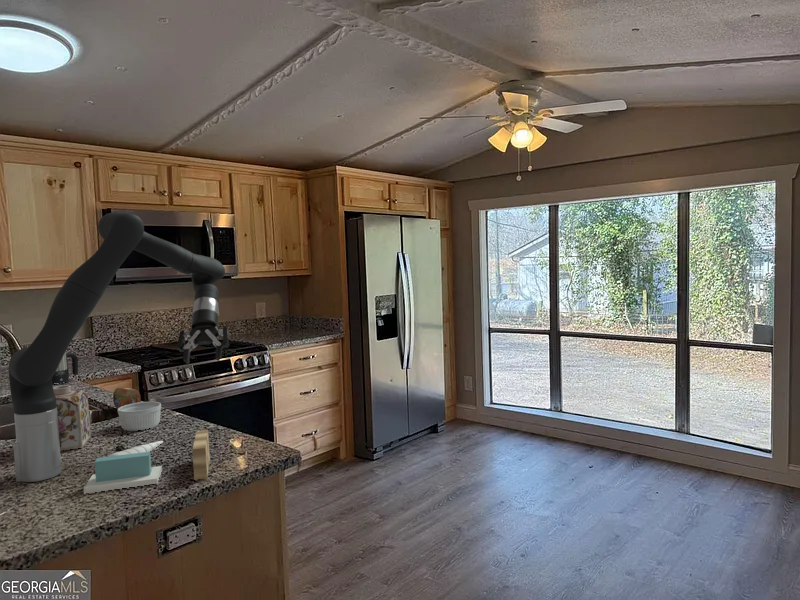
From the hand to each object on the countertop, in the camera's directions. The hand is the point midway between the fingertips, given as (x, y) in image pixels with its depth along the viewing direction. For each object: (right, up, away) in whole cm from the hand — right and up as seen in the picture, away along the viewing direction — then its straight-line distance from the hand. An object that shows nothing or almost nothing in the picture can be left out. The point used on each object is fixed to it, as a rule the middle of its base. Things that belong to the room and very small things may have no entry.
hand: (202, 360), depth 162 cm
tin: (-45, -24, +48) cm, 69 cm away
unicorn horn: (-16, -27, -5) cm, 32 cm away
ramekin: (-29, -25, +25) cm, 46 cm away
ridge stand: (-11, -27, -23) cm, 38 cm away
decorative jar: (-44, -27, +8) cm, 52 cm away
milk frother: (-106, -22, +106) cm, 151 cm away
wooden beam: (+5, -27, -15) cm, 31 cm away
